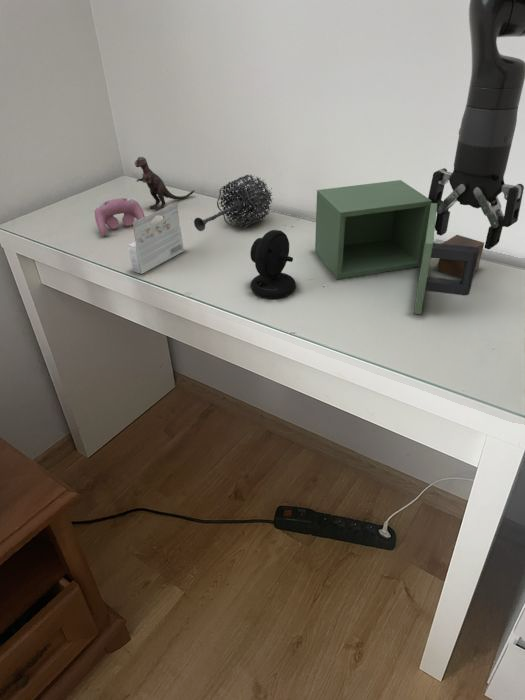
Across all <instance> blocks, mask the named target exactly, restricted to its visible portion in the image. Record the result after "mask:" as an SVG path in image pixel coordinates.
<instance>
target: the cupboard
mask: <svg viewBox="0 0 525 700" xmlns="http://www.w3.org/2000/svg"><path fill="white" fill-rule="evenodd" d="M431 203H432V201H431V200H430V199H428V197H427V196H426V195H424V194H423V193H421V192H419V191H418V190H417V189H415V188H414V187H412V186H410V185H409V184H407V183H406V182H404V181H403V180H401V179H398V180H390V181H381V182H373V183H372V182H371V183H365V184H357V185H356V184H355V185H348V186H340V187H338V186H337V187H331V188H324V189H317V190H316V207H315V208H316V212H315V236H314V237H315V240H314V241H315V242H314V253H315V255H316V256H317V258H318V259H319V260H320V261H321V263H323V264H324V266H325V267H326V268H327V270H328V271H329V272H330V273H331V274H332V276H333V277H334V278H335V279H336V280H341V279H349V278H353V277H361V276H368V275H373V274H379V273H387V272H391V271H392V272H393V271H399V270H405V269H412V268H419V267H421V262H422V255H423V249H424V243H425V237H426V231H427V225H428V219H429V212H430V206H431Z"/></svg>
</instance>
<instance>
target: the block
mask: <svg viewBox="0 0 525 700" xmlns="http://www.w3.org/2000/svg"><path fill="white" fill-rule="evenodd" d="M441 244H448V245H459V246H469V247H477V248H479V255H478V259H477V263H476V268H475V272H477V271H478V270H479V267H480V262H481V258H482V255H483V250H484V247H485V242H484V241H481V240H477V239H473V238H470V237H467V236H463V235H460V234H455V235H454V236H452V237H450V238H449V239H447V240H446V241H444V242H442V243H441ZM464 262H465V261H459V260H449V259H439V258H438V263H437V269H436V271H438V272H440V273H444V274H445V275H446V274H447V275H450V276H452V277H455V278H458V279H459V280H461V276H462V271H463V267H464Z"/></svg>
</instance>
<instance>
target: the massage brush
mask: <svg viewBox="0 0 525 700" xmlns="http://www.w3.org/2000/svg"><path fill="white" fill-rule="evenodd" d="M254 177H255V175H252V174H245V175H244V176H241V177H238V178H236V179H234V180H232V181H228V183H227V184H225V185H223V186H222V187H221V188H220V189H219V196H218V198H217V201H216V206H217V208H218V210H219V211H218V212H217V214H214V215H212V216H209V217H207V218H204V219H202V218H201V217H195V218H194V220H193V224H194V227H195V229H196V230H197V231H198V232H203V231H204V230H205V229H206V225H207V223H209V222H211V221H214V220H216V219H217V218H219V217H221V216H222V217H223V220H224V222H225V223H226V224H227V225H229V226H233V227H235V228H237V229H239V230H241V229H245V228H247V227H250V226H251V225H253V224H255V223H257V222H259V221H261V220H263V219H265V218H266V217H267V216H268V215H270V210H271V207H272V206H271V204H273V200H274V198H272V196H273V192H272V191H271V190H272V189H273V188H272V187H270V189H269V186H268V184H267V182H264V180H261V179H262V177H258V176H256V177H255V178H254ZM219 201H220V202H219ZM221 208H222V209H221Z"/></svg>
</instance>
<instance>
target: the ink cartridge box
mask: <svg viewBox="0 0 525 700" xmlns="http://www.w3.org/2000/svg"><path fill="white" fill-rule="evenodd" d="M156 216H162V219H160V220H158V221H155V222H154V223H151V222H152V221H153V220H154V219H155V217H156ZM132 228H133V235H134V241H133V242H132V243H129V244H128V245H127V248H128V253H129V257H130V258H129V259H130V262H131V267H132V272H134V273H137V274H139V275H143V274H144V273H146V272H149V271H150V270H153V269H154V268H156V267H158V266H159V265H161V264H164V263H165V262H167V261H168V260H171V259H172V258H174V257H177V256H178V255H180V254H181V253H184V251H185V249H184V248H185V247H184V243H183V237H182V230H181V225H180V214H179V205H178V201H175V202H174V203H171V204H169V205H167V206H164V208H163V209H161V210H159V211H155V212H152V213H150V214H147V215H145V217H143V218H141V219H139V220H138V219H136V220H134V222H133V224H132Z"/></svg>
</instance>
